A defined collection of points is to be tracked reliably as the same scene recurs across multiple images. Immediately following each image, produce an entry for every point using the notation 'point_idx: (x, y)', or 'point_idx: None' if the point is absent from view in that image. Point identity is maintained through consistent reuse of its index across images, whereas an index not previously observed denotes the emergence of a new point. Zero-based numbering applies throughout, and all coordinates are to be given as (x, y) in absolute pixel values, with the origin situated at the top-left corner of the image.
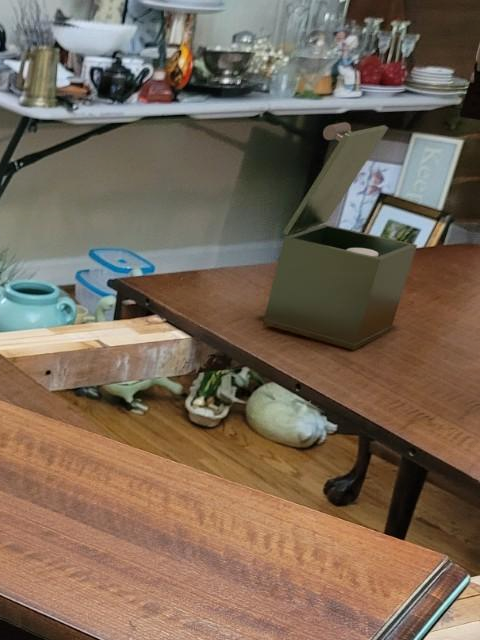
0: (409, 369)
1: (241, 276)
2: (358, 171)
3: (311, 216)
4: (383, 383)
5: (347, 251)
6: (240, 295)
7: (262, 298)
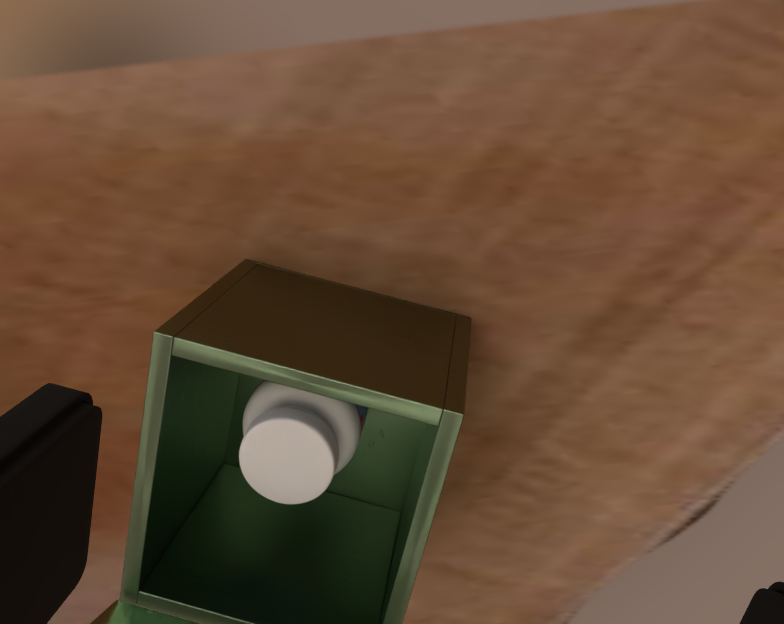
0: (581, 172)
1: None
2: None
3: None
4: (741, 216)
5: (429, 510)
6: None
7: None
